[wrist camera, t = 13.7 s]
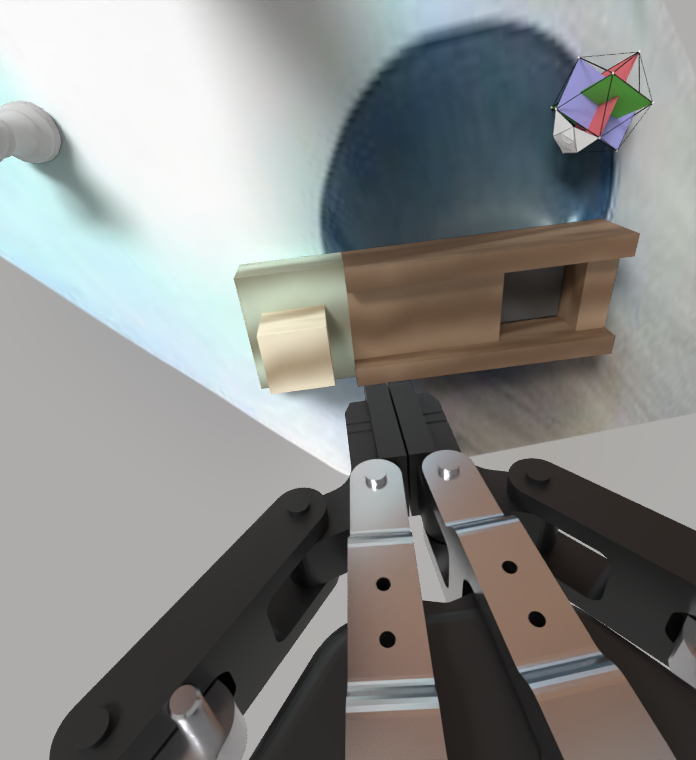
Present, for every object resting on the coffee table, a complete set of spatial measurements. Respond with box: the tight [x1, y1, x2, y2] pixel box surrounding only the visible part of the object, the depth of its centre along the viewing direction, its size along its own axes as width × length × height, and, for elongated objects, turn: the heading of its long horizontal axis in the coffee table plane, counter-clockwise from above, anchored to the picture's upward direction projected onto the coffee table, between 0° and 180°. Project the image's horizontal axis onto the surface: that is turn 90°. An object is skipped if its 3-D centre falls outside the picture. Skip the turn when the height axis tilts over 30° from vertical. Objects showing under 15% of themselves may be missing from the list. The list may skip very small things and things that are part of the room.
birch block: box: [257, 305, 335, 394], centre depth 42 cm, size 6×6×5 cm
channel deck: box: [234, 219, 640, 389], centre depth 45 cm, size 12×36×6 cm, turn 96°
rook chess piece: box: [0, 101, 61, 163], centre depth 33 cm, size 4×4×8 cm
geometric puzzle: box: [551, 51, 654, 154], centre depth 36 cm, size 7×7×8 cm
